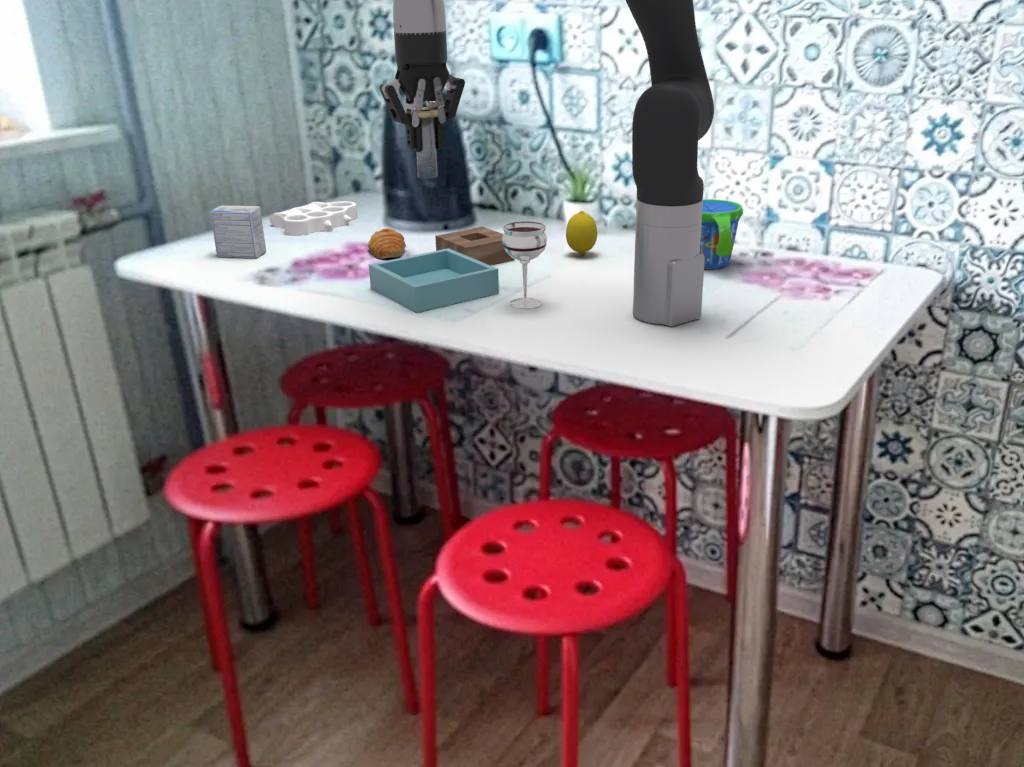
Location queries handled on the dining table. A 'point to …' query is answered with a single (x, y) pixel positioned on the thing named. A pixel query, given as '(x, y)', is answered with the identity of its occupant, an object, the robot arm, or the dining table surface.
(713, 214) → the snack cup
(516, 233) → the wineglass
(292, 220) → the knuckle duster
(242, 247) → the medicine box
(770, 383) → the dining table surface
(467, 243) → the wooden square hole block
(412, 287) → the pin tray
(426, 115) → the lock pin
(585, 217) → the lemon
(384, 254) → the pastry
